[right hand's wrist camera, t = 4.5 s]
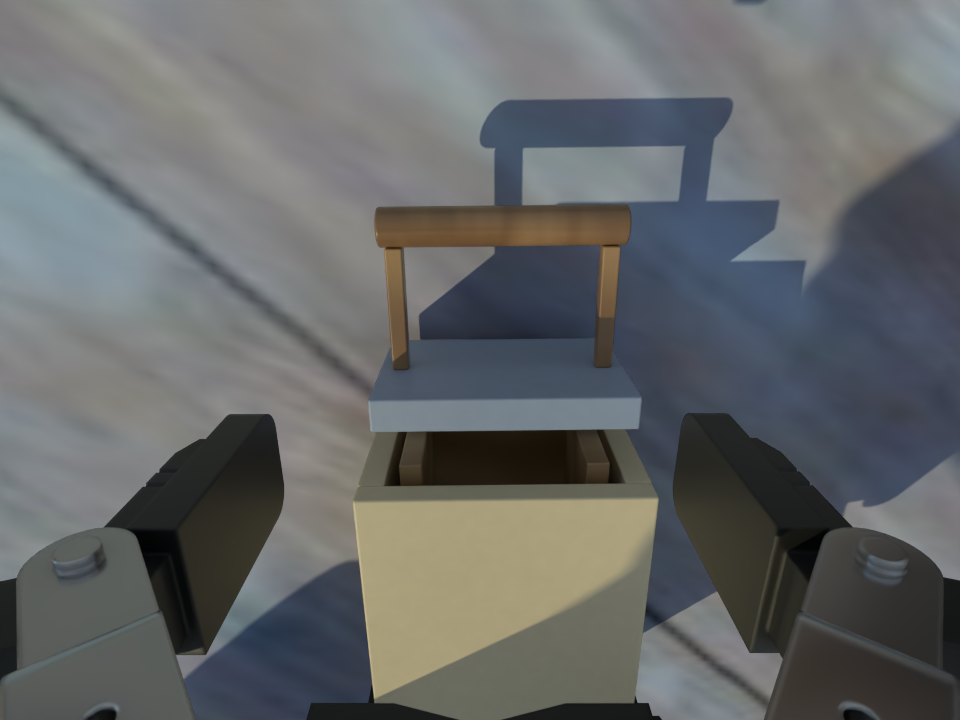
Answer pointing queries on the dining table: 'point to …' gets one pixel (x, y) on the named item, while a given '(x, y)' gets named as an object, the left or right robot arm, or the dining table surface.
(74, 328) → the dining table surface
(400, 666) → the cabinet
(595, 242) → the drawer
